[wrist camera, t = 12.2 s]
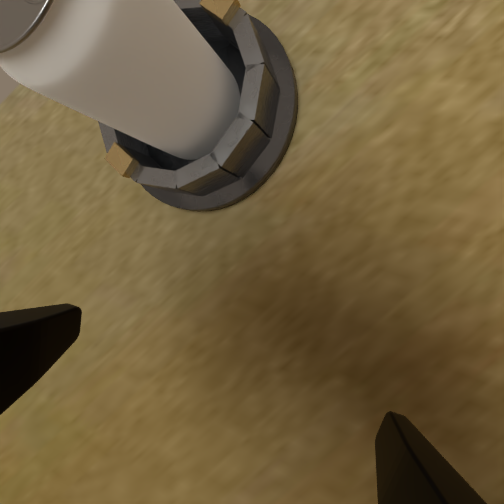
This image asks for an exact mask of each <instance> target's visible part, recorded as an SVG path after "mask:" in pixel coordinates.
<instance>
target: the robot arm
mask: <svg viewBox="0 0 504 504" xmlns="http://www.w3.org/2000/svg"><path fill="white" fill-rule="evenodd" d="M81 315H82V311H81V309H80V308H79V307H77V306H74V305H71V304H59V305H52V306H44V307H37V308H29V309H22V310H15V311H7V312H0V415H1V414H2V413H3V412H4V411H5V410H6V409H7V408H9V407H10V406H11V405H12V404H13V403H14V402H15V401H16V400H17V399H19V398H20V397H21V396H22V395H23V394H24V393H25V392H26V391H27V390H29V389H30V388H31V387H32V386H33V385H34V384H35V383H36V382H37V381H38V380H39V379H40V378H41V377H42V376H43V375H44V374H45V373H46V372H47V371H48V370H49V369H50V368H51V367H52V365H53V364H54V363H55V362H56V361H57V360H58V359H59V358H60V357H61V356H62V355H63V354H64V352H65V351H66V350H67V349H68V348H69V347H70V346H71V345H72V344H73V343H74V342H75V341H76V339H77V338H78V336H79V333H80V325H81ZM375 452H376V473H377V494H378V504H487V503H486V502H485V501H484V500H483V499H482V498H481V497H480V496H479V495H478V494H477V493H476V492H475V491H474V489H473V488H472V487H471V486H470V485H469V484H468V483H467V482H466V481H465V480H464V479H463V478H462V477H461V476H460V474H459V473H458V472H457V471H456V470H455V469H454V468H453V467H452V466H451V465H450V464H449V463H448V462H447V461H446V459H445V458H444V457H443V456H442V455H441V454H440V453H439V452H438V451H437V450H436V449H435V448H434V447H433V446H432V444H431V443H430V442H429V441H428V440H427V439H426V438H425V437H424V436H423V435H422V434H421V433H420V432H419V431H418V429H417V428H416V427H415V426H414V425H413V424H412V423H411V422H410V421H409V420H408V419H407V418H406V417H405V416H403V415H401V414H398V413H395V412H392V411H389V412H387V413H386V415H385V417H384V419H383V421H382V424H381V426H380V428H379V431H378V433H377V435H376V440H375Z"/></svg>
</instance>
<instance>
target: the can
mask: <svg viewBox="0 0 504 504" xmlns="http://www.w3.org/2000/svg"><path fill="white" fill-rule="evenodd" d="M0 67H1V68H2V69H3V70H4V71H5V72H6V73H7V74H8V75H9V76H10V77H12V78H13V79H14V80H15V81H17V82H19V83H20V84H22V85H24V86H26V87H27V88H29V89H31V90H33V91H35V92H37V93H39V94H42V95H44V96H46V97H48V98H50V99H52V100H54V101H56V102H58V103H61V104H63V105H65V106H67V107H69V108H71V109H73V110H76V111H78V112H80V113H82V114H84V115H86V116H88V117H91V118H93V119H95V120H97V121H99V122H101V123H103V124H106V125H108V126H110V127H112V128H114V129H116V130H119V131H121V132H123V133H125V134H127V135H129V136H132V137H134V138H136V139H138V140H140V141H142V142H145V143H147V144H149V145H151V146H153V147H156V148H158V149H160V150H162V151H164V152H167V153H169V154H171V155H173V156H176V157H178V158H182V159H187V160H196V159H200V158H202V157H204V156H206V155H208V154H210V153H211V152H212V151H213V149H214V148H215V146H216V145H217V144H218V142H219V141H220V139H221V138H222V136H223V135H224V134H225V132H226V131H227V129H228V128H229V127H230V125H231V124H232V122H233V121H234V120H235V118H236V117H237V115H238V110H239V104H240V91H239V87H238V84H237V82H236V80H235V78H234V76H233V74H232V73H231V72H230V70H229V69H228V68H227V66H226V65H225V64H224V63H223V61H222V60H221V59H220V57H219V56H218V55H217V54H216V52H215V51H214V50H213V49H212V48H211V46H210V45H209V44H208V43H207V41H206V40H205V39H204V38H203V36H202V35H201V34H200V33H199V31H198V30H197V29H196V28H195V26H194V25H193V24H192V23H191V21H190V20H189V19H188V18H187V17H186V15H185V14H184V13H183V12H182V10H181V9H180V8H179V7H178V5H177V4H176V3H175V2H174V1H173V0H0Z"/></svg>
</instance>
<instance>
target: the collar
mask: <svg viewBox="0 0 504 504" xmlns="http://www.w3.org/2000/svg"><path fill="white" fill-rule="evenodd" d="M173 1H174V2H175V3H176V4H177V5H178V7H179V8H180V9H181V10H182V12H183V13H184V14H185V15H186V17H187V18H188V19H189V20H190V21H191V23H192V24H193V25H194V26H195V28H196V29H197V30H198V31H199V33H200V34H201V35H202V36H203V38H204V39H205V40H206V41H207V43H208V44H209V45H210V46H211V48H212V49H213V50H214V51H215V52H216V54H217V55H218V56H219V57H220V59H221V60H222V61H223V63H224V64H225V65H226V66H227V68H228V69H229V70H230V72H231V73H232V74H233V76H234V78H235V80H236V82H237V84H238V87H239V91H240V104H239V110H238V115H237V117H236V118H235V120H234V121H233V122H232V124H231V125H230V127H229V128H228V129H227V131H226V132H225V134H224V135H223V136H222V138H221V139H220V141H219V142H218V144H217V145H216V146H215V148H214V149H213V151H212V152H211V153H210V154H208V155H206V156H204V157H202V158H200V159H196V160H187V159H182V158H178V157H176V156H173V155H171V154H169V153H167V152H164V151H162V150H160V149H158V148H156V147H153V146H151V145H149V144H147V143H145V142H142V141H140V140H138V139H136V138H134V137H132V136H129V135H127V134H125V133H123V132H121V131H119V130H116V129H114V128H112V127H110V126H108V125H106V124H103V123H101V122H99V121H98V122H99V126H100V129H101V133H102V137H103V140H104V144H105V147H106V151H107V155H106V156H105V158H104V159H105V160H106V161H107V162H108V163H109V164H110V165H111V166H112V167H113V168H114V169H115V170H116V171H117V172H118V173H119V174H120V175H121V176H123V177H127V178H130V177H131V178H132V179H133V180H134V181H135V182H137V183H140V184H141V185H142V186H143V187H144V189H145V190H146V191H148V192H149V193H150V194H151V195H152V196H154V197H155V198H157V199H158V200H160V201H162V202H164V203H166V204H168V205H171V206H174V207H178V208H182V209H186V210H193V211H212V210H217V209H222V208H225V207H228V206H230V205H233V204H235V203H237V202H239V201H241V200H243V199H245V198H246V197H248V196H249V195H251V194H252V193H253V192H255V191H256V190H257V189H258V188H259V187H260V186H261V185H263V184H264V183H265V182H266V180H267V179H268V178H269V177H270V176H271V175H272V174H273V172H274V171H275V169H276V168H277V166H278V165H279V164H280V162H281V160H282V158H283V157H284V155H285V153H286V151H287V149H288V146H289V144H290V141H291V138H292V136H293V132H294V128H295V124H296V118H297V110H298V93H297V85H296V79H295V76H294V72H293V68H292V66H291V64H290V62H289V59H288V57H287V55H286V53H285V50H284V48H283V46H282V45H281V43H280V42H279V40H278V39H277V37H276V36H275V35H274V34H273V32H272V31H271V30H270V29H269V28H268V27H267V26H266V25H264V24H263V23H262V22H261V21H259V20H258V19H256V18H254V17H252V16H250V15H249V14H247V12H246V11H244V10H243V9H241V8H240V6H241V5H240V3H239V2H238V0H173Z"/></svg>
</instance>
